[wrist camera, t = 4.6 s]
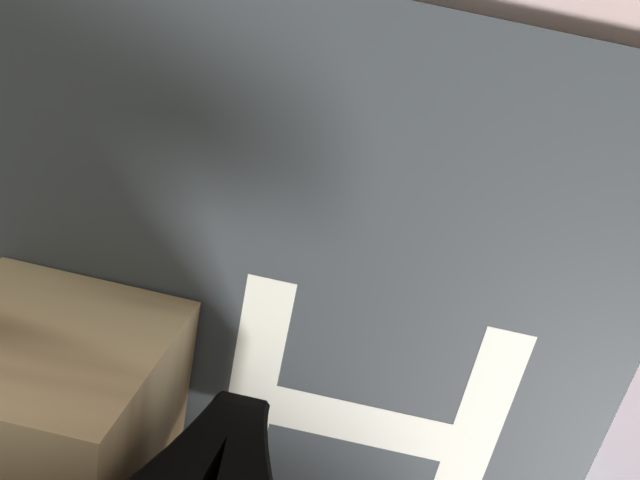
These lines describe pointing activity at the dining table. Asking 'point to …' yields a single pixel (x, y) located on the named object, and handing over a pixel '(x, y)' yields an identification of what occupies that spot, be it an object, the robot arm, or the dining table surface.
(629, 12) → the dining table surface
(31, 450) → the maple block
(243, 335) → the letter board
